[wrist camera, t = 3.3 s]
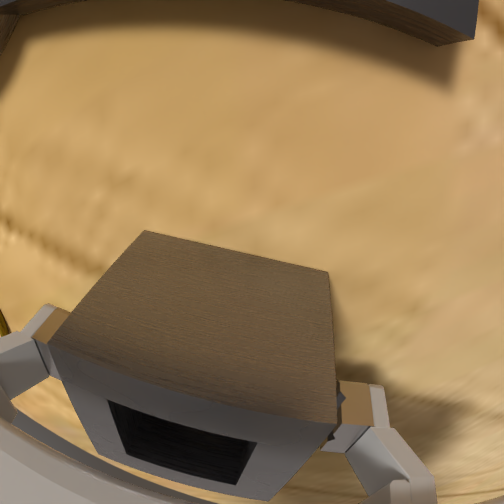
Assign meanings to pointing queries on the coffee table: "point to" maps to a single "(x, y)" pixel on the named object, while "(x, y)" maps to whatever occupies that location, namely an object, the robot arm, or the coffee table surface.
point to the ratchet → (353, 3)
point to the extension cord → (3, 326)
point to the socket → (203, 365)
